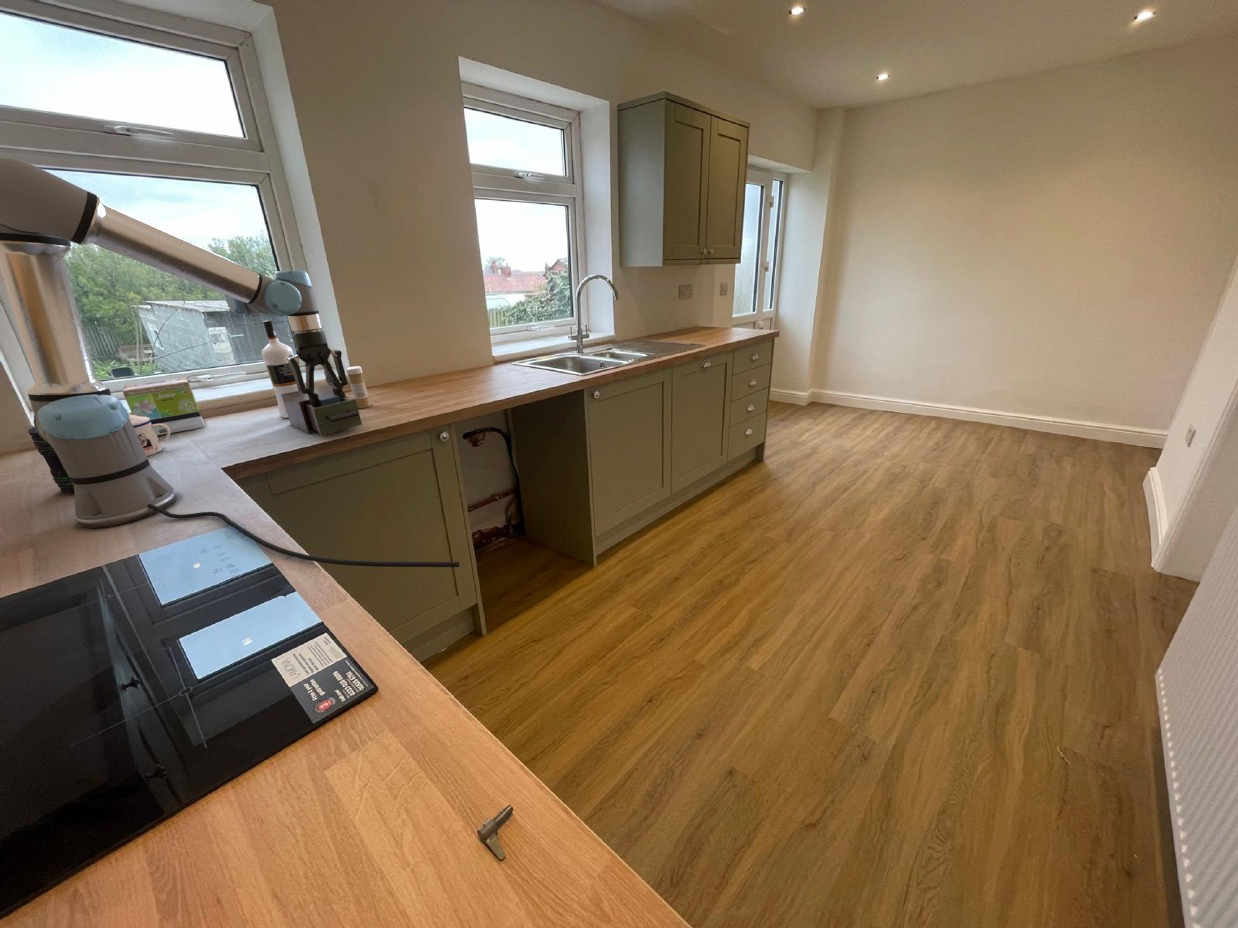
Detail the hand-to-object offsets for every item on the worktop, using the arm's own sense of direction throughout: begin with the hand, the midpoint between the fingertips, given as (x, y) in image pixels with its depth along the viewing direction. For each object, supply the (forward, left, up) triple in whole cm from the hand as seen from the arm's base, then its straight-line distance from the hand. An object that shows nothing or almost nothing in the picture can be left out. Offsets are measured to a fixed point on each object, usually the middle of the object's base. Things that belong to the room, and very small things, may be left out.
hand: (331, 412), depth 145 cm
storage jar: (+9, +52, -6) cm, 53 cm away
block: (0, 0, 0) cm, 0 cm away
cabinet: (+11, 0, -5) cm, 12 cm away
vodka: (+29, +1, -6) cm, 30 cm away
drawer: (0, 0, -4) cm, 4 cm away
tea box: (+46, +30, -6) cm, 55 cm away
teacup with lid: (+26, +39, -6) cm, 47 cm away
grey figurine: (+38, -15, -6) cm, 41 cm away
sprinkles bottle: (+18, -16, -6) cm, 25 cm away
